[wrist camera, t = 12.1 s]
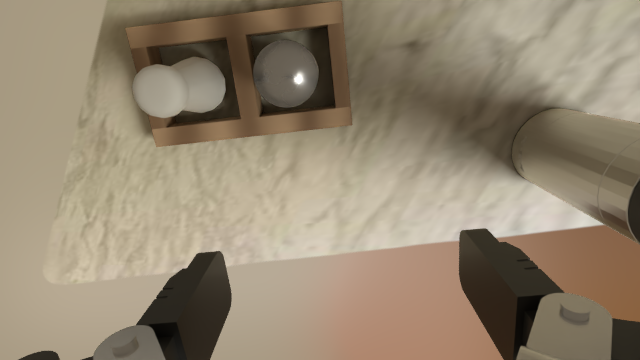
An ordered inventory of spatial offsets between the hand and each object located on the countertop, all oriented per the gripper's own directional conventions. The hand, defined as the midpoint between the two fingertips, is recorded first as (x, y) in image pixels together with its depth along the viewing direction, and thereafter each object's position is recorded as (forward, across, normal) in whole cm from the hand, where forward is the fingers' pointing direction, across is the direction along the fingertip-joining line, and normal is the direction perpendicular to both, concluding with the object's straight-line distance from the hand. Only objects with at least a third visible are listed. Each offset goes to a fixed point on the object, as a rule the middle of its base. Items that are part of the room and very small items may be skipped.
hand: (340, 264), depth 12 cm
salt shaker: (+32, +14, -6) cm, 35 cm away
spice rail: (+31, +9, -6) cm, 33 cm away
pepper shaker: (+32, +4, -6) cm, 32 cm away
